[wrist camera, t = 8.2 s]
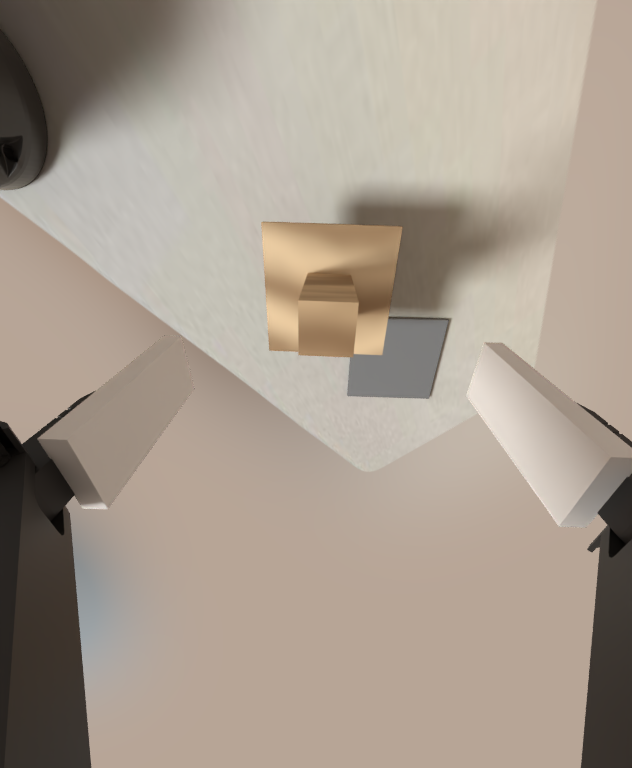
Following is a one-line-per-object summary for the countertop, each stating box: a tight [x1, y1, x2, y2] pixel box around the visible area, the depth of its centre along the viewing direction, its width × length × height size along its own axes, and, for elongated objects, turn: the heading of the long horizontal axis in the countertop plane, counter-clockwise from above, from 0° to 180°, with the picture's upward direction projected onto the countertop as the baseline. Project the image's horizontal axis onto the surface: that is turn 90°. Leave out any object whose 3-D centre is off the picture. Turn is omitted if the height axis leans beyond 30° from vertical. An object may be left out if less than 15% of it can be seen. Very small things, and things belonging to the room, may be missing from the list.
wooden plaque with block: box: [261, 222, 403, 357], centre depth 25 cm, size 12×12×10 cm
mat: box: [347, 318, 449, 399], centre depth 41 cm, size 12×12×1 cm
